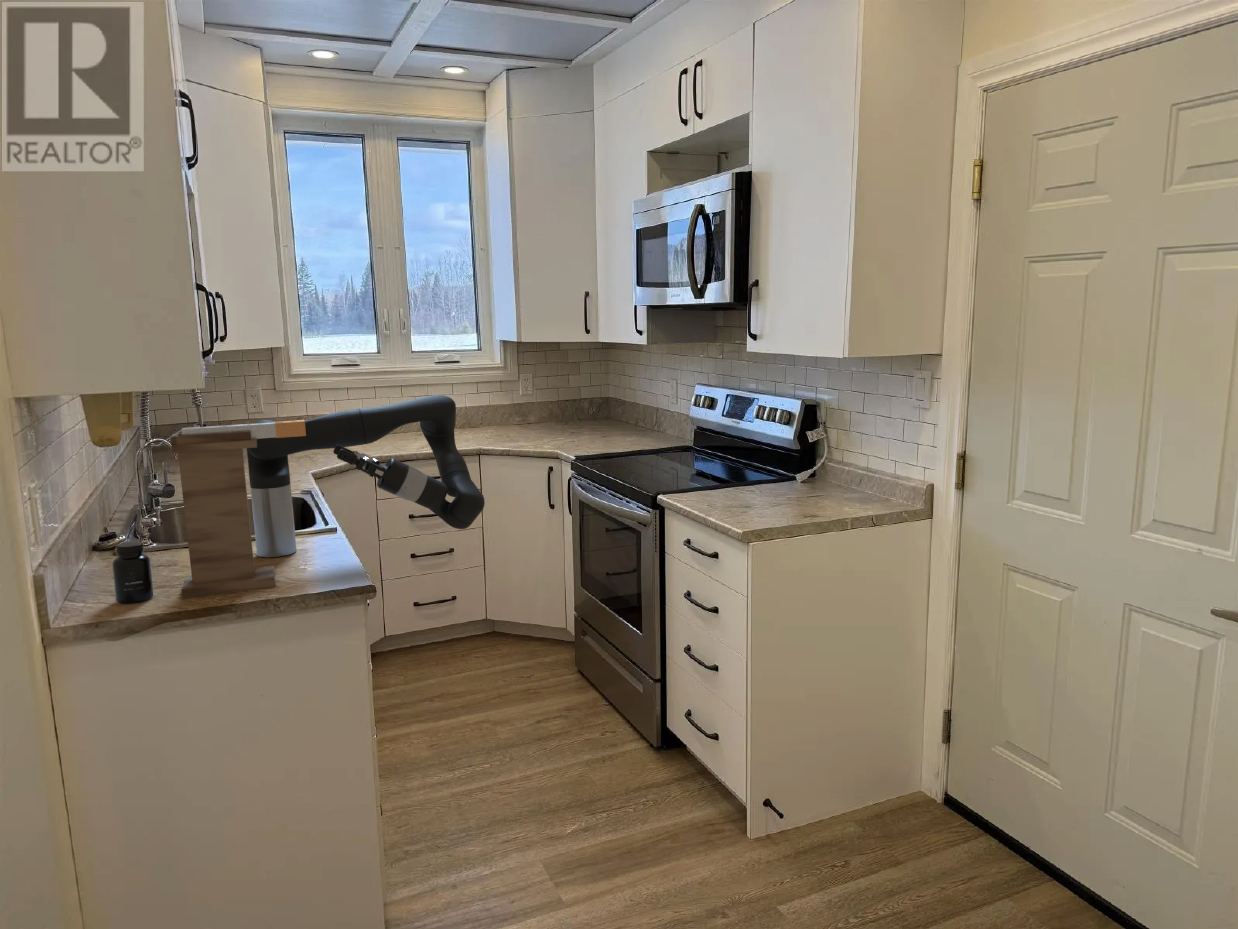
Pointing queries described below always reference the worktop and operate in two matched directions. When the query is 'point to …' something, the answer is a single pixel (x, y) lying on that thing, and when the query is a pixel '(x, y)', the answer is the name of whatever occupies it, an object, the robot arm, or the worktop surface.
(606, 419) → the worktop surface
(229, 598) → the worktop surface
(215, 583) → the post
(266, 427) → the grey and tan bar
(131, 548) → the supplement bottle
